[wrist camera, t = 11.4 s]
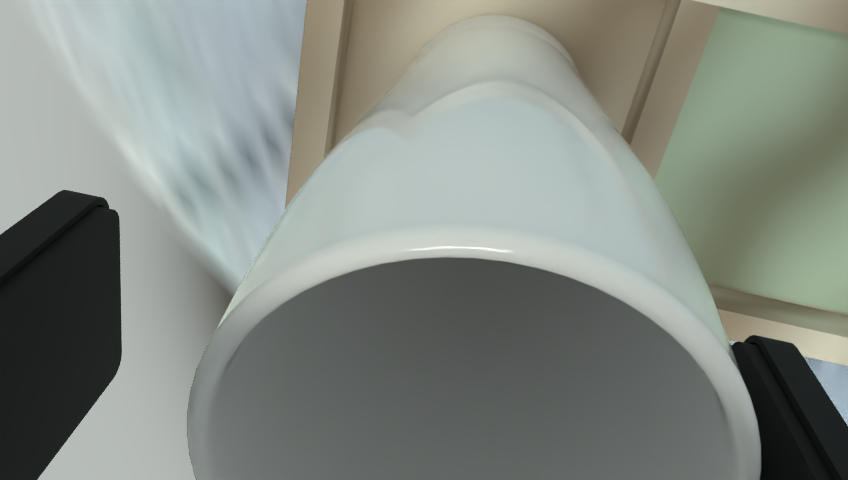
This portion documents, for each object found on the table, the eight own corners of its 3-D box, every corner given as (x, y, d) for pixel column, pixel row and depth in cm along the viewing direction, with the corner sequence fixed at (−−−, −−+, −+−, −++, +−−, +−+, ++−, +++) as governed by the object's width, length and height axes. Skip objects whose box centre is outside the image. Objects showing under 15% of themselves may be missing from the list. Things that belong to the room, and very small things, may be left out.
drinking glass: (468, 238, 24) (413, 714, 10) (336, 77, 21) (57, 419, 8) (650, 125, 21) (882, 561, 8) (521, -71, 19) (544, 83, 6)
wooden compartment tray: (1389, 102, 19) (1501, 132, 17) (1134, 392, 25) (1195, 443, 22) (341, -126, 20) (320, -126, 18) (302, 207, 25) (281, 239, 23)
